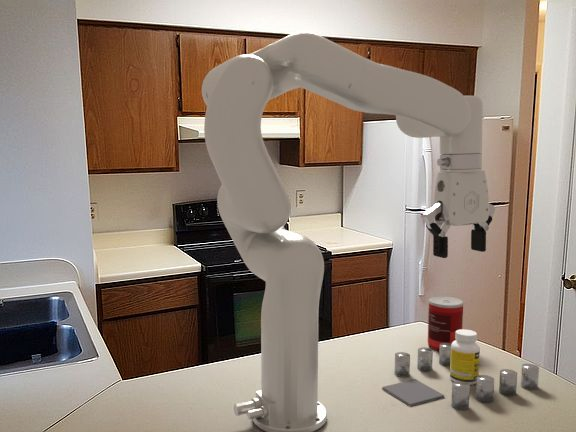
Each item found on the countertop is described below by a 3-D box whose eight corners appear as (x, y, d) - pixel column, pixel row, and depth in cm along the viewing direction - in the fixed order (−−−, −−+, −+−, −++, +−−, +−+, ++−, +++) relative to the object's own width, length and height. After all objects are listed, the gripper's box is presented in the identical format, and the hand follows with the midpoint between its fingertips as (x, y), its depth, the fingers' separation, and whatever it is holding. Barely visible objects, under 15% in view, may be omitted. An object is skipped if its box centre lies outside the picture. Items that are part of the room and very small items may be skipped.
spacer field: (460, 411, 94) (461, 389, 93) (391, 372, 110) (391, 353, 110) (541, 387, 103) (542, 367, 103) (466, 355, 120) (467, 337, 119)
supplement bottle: (478, 387, 103) (480, 338, 102) (449, 383, 105) (451, 335, 104) (478, 376, 108) (480, 329, 107) (450, 373, 110) (452, 326, 109)
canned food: (457, 341, 129) (459, 296, 128) (465, 353, 121) (467, 305, 120) (424, 340, 130) (426, 295, 128) (430, 352, 122) (431, 304, 121)
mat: (410, 406, 95) (410, 404, 95) (382, 388, 102) (382, 386, 102) (444, 397, 99) (444, 395, 99) (415, 380, 106) (415, 379, 106)
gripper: (439, 166, 93) (439, 263, 95) (509, 161, 101) (507, 251, 103) (410, 165, 100) (411, 256, 102) (478, 161, 108) (477, 245, 110)
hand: (459, 253), depth 103 cm, fingers open, 9 cm apart
